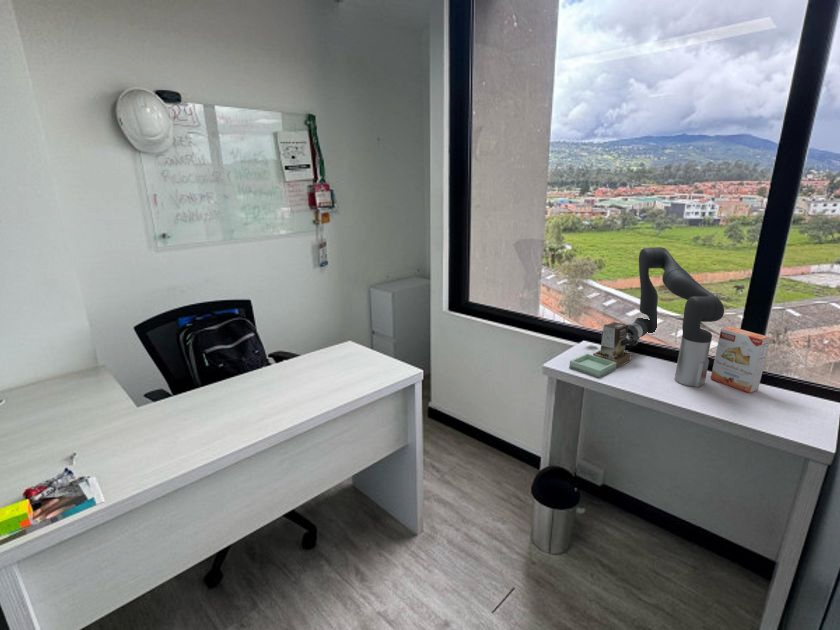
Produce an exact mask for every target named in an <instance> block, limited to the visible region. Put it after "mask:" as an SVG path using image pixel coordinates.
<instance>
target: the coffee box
mask: <svg viewBox="0 0 840 630" xmlns="http://www.w3.org/2000/svg"><path fill="white" fill-rule="evenodd" d="M602 331H603V335H602V334H601V335H602V340H601V342H600V343H601V344H600V350H599V351H600V355H602V356H605V357H608V358H612V359H617V358H619V357H621V356H623V355H624V351H625V350H626V345H624V346H621V341H622V340H624V339H626V336H627V331H628V324H625V323H623V322H616V321H614V322H611V323H610V322H609V323H607V324H604V325H603V329H602ZM625 352H626V351H625Z"/></svg>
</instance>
